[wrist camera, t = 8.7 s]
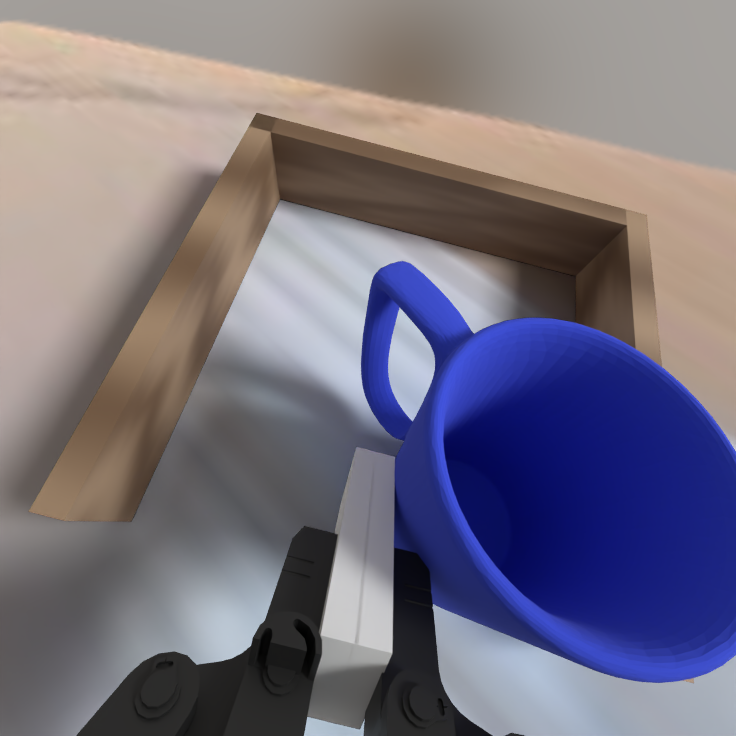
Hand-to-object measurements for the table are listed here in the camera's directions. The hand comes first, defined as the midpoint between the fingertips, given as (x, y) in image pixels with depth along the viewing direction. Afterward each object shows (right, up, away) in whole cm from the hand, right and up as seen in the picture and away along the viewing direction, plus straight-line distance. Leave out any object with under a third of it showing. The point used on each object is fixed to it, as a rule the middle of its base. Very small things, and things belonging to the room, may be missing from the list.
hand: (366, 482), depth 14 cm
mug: (+3, -1, +4) cm, 5 cm away
